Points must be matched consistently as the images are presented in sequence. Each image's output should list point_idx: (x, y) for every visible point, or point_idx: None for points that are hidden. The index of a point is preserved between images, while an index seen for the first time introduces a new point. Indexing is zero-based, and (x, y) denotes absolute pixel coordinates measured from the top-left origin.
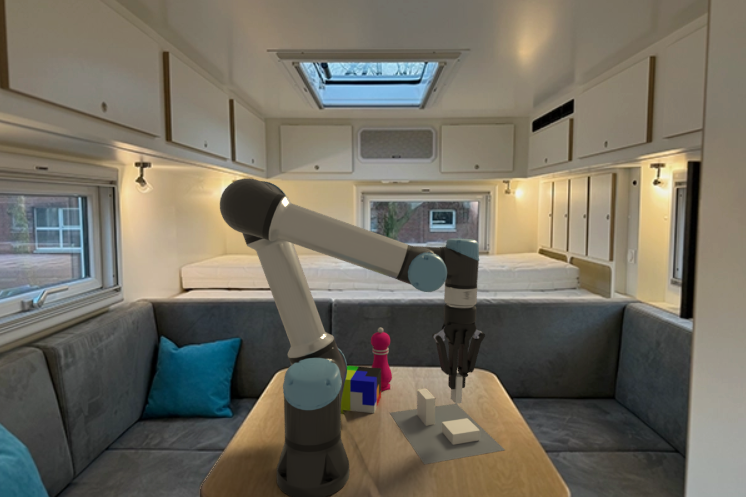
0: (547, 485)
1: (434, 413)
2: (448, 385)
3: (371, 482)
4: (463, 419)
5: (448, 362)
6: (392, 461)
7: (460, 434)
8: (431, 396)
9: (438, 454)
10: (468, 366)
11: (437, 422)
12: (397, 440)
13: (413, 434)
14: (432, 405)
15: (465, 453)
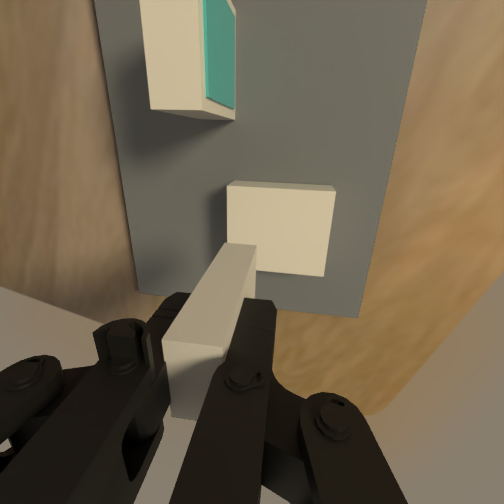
0: (357, 405)
1: (222, 116)
2: (167, 299)
3: (41, 283)
4: (314, 196)
5: (11, 471)
6: (84, 237)
7: None
8: (188, 83)
9: (182, 274)
10: (309, 500)
11: (250, 109)
12: (107, 152)
13: (144, 163)
14: (200, 113)
15: None
